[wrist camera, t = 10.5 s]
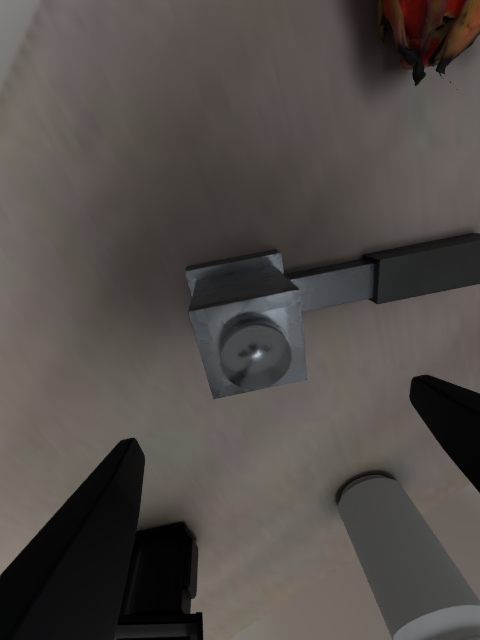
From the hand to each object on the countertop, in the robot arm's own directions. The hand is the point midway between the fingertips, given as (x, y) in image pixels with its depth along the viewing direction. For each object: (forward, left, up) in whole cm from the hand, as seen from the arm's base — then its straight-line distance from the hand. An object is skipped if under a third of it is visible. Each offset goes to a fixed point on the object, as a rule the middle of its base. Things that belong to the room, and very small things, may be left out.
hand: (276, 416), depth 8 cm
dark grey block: (0, 0, -9) cm, 9 cm away
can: (+10, -26, -11) cm, 30 cm away
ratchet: (+7, 0, -11) cm, 13 cm away
